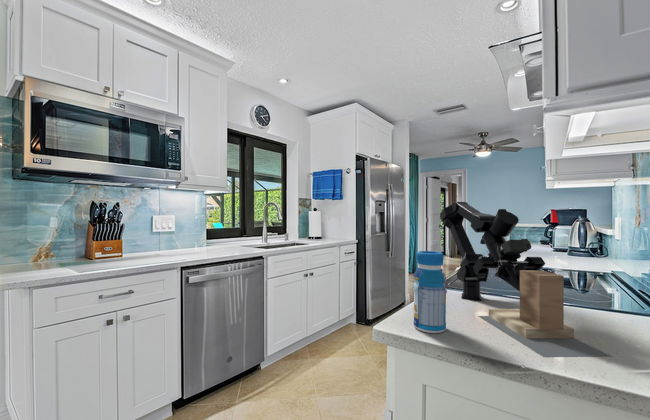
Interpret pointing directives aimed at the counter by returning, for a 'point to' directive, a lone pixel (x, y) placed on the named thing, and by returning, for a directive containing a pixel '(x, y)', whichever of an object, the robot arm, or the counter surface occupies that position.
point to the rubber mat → (551, 344)
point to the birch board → (526, 325)
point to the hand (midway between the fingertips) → (522, 290)
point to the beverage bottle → (430, 293)
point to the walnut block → (542, 299)
